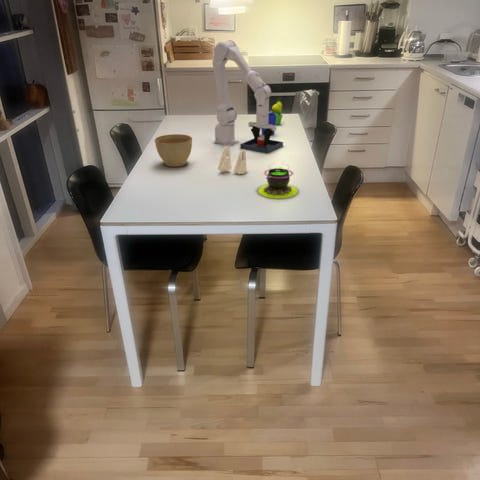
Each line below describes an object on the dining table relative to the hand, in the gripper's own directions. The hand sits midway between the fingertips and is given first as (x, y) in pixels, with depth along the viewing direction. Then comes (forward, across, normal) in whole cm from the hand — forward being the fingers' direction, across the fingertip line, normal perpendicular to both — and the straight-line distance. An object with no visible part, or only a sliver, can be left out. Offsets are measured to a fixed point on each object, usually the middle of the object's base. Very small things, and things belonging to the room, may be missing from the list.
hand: (261, 144), depth 229 cm
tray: (+2, 0, 0) cm, 2 cm away
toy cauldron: (+2, -36, +46) cm, 58 cm away
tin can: (+1, 0, 0) cm, 1 cm away
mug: (+2, +11, -24) cm, 26 cm away
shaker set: (+2, -9, +38) cm, 39 cm away
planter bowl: (+2, +19, +42) cm, 46 cm away
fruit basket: (+2, +20, -45) cm, 49 cm away
